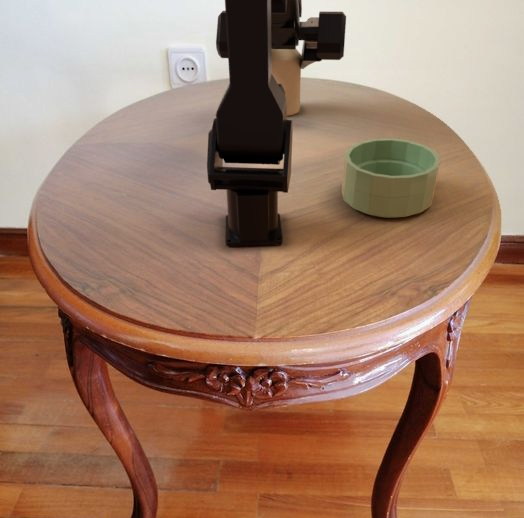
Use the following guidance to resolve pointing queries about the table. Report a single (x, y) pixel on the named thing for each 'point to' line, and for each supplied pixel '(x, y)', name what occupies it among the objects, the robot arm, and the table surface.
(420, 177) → the green pet bowl
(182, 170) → the table surface
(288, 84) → the candle
